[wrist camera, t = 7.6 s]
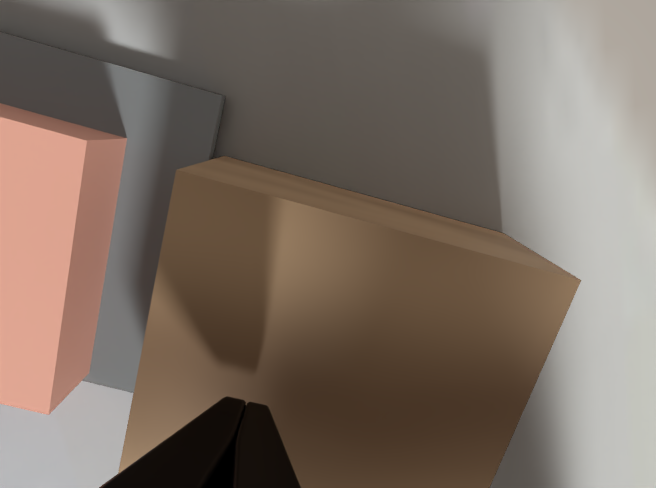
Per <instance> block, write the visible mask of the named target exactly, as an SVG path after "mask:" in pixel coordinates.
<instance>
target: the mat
mask: <svg viewBox="0 0 656 488" xmlns="http://www.w3.org/2000/svg"><path fill="white" fill-rule="evenodd" d="M224 101H225V96H223V95H219V94H216V93H212V92H209V91H206V90H202V89H199V88H195V87H192V86H188V85H185V84H181V83H178V82H174V81H171V80H167V79H164V78H160V77H157V76H153V75H150V74H146V73H143V72H139V71H136V70H132V69H129V68H125V67H122V66H118V65H115V64H111V63H108V62H104V61H101V60H97V59H94V58H90V57H87V56H83V55H80V54H76V53H73V52H69V51H66V50H62V49H59V48H55V47H52V46H48V45H45V44H41V43H38V42H35V41H31V40H28V39H24V38H21V37H17V36H14V35H10V34H7V33H3V32H0V103H1V104H5V105H9V106H12V107H16V108H19V109H23V110H27V111H30V112H34V113H37V114H41V115H45V116H48V117H52V118H55V119H59V120H63V121H66V122H70V123H74V124H77V125H81V126H84V127H88V128H92V129H95V130H99V131H102V132H106V133H110V134H113V135H117V136H121V137H124V138H127V142H126V148H125V154H124V161H123V167H122V173H121V179H120V185H119V192H118V198H117V204H116V210H115V216H114V223H113V229H112V235H111V241H110V247H109V254H108V260H107V266H106V272H105V278H104V285H103V291H102V297H101V303H100V309H99V316H98V322H97V328H96V334H95V340H94V347H93V353H92V359H91V365H90V371H89V374H88V375H87V376H86V377H85V378H84V379H83V380H82V381H86V382H90V383H94V384H98V385H103V386H107V387H111V388H115V389H119V390H124V391H128V392H132V393H134V389H135V383H136V378H137V373H138V368H139V362H140V357H141V352H142V347H143V341H144V336H145V331H146V326H147V320H148V315H149V310H150V305H151V299H152V294H153V289H154V284H155V278H156V273H157V268H158V263H159V257H160V252H161V247H162V242H163V236H164V231H165V226H166V221H167V215H168V210H169V205H170V200H171V194H172V189H173V184H174V179H175V173H176V170H177V169H180V168H184V167H187V166H191V165H194V164H198V163H201V162H205V161H208V160H212V158H213V154H214V149H215V144H216V139H217V135H218V130H219V125H220V120H221V115H222V111H223V106H224Z"/></svg>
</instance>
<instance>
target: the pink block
mask: <svg viewBox="0 0 656 488" xmlns="http://www.w3.org/2000/svg"><path fill="white" fill-rule="evenodd" d="M126 142H127V138H124V137H121V136H117V135H113V134H110V133H106V132H102V131H99V130H95V129H92V128H88V127H84V126H81V125H77V124H74V123H70V122H66V121H63V120H59V119H55V118H52V117H48V116H45V115H41V114H37V113H34V112H30V111H27V110H23V109H19V108H16V107H12V106H9V105H5V104H1V103H0V404H4V405H8V406H13V407H17V408H21V409H26V410H30V411H34V412H39V413H43V414H47V415H49V414H50V413H51V412H52V411H53V410H54V409H55V408H56V407H57V406H58V405H59V404H60V403H61V402H62V401H63V400H64V398H65V397H66V396H67V395H68V394H69V393H70V392H71V391H72V390H73V389H74V388H75V387H76V386H77V385H78V384H79V383H80V382H81V381H82V380H83V379H84V378H85V377H86V376H87V375H88V374H89V371H90V365H91V359H92V353H93V347H94V340H95V334H96V328H97V322H98V316H99V309H100V303H101V297H102V291H103V285H104V278H105V272H106V266H107V260H108V254H109V247H110V241H111V235H112V229H113V223H114V216H115V210H116V204H117V198H118V192H119V185H120V179H121V173H122V167H123V161H124V154H125V148H126Z"/></svg>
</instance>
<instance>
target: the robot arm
mask: <svg viewBox="0 0 656 488" xmlns="http://www.w3.org/2000/svg"><path fill="white" fill-rule="evenodd" d="M99 488H301V487H300V484H299V482H298V479H297V477H296V474H295V472H294V469H293V467H292V464H291V462H290V459H289V457H288V454H287V452H286V449H285V447H284V444H283V442H282V439H281V437H280V434H279V432H278V429H277V426H276V424H275V421H274V419H273V416H272V414H271V411H270V409H269V407H268V406H267V405H264V404H260V403H255V402H248V403H247V404H246V402H245V401H244V400H242V399H237V398H233V397H229V396H226V397H224V398H222V399H221V400H219V401H218V402H217V403H215V404H214V405H213V406H211V407H210V408H208V409H207V410H206V411H204V412H203V413H201V414H200V415H199V416H197V417H196V418H195V419H193V420H192V421H190V422H189V423H188V424H186V425H185V426H184V427H182V428H181V429H179V430H178V431H177V432H175V433H174V434H172V435H171V436H170V437H168V438H167V439H166V440H164V441H163V442H161V443H160V444H159V445H157V446H156V447H155V448H153V449H152V450H150V451H149V452H148V453H146V454H145V455H143V456H142V457H141V458H139V459H138V460H137V461H135V462H134V463H132V464H131V465H130V466H128V467H127V468H126V469H124V470H123V471H121V472H120V473H119V474H117V475H116V476H114V477H113V478H112V479H110V480H109V481H108V482H106V483H105V484H103V485H102V486H101V487H99Z"/></svg>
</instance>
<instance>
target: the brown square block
mask: <svg viewBox="0 0 656 488" xmlns="http://www.w3.org/2000/svg"><path fill="white" fill-rule="evenodd" d="M580 282H581V280H580V279H578V278H576V277H575V276H573V275H571V274H570V273H568V272H567V271H565V270H563V269H562V268H560V267H558V266H557V265H555V264H553V263H552V262H550V261H548V260H547V259H545V258H544V257H542V256H540V255H539V254H537V253H535V252H534V251H532V250H530V249H529V248H527V247H525V246H524V245H522V244H520V243H519V242H517V241H516V240H514V239H512V238H511V237H509V236H507V235H506V234H504V233H501V232H497V231H494V230H490V229H486V228H483V227H479V226H476V225H472V224H468V223H465V222H461V221H458V220H454V219H450V218H447V217H443V216H440V215H436V214H432V213H429V212H425V211H422V210H418V209H414V208H411V207H407V206H403V205H400V204H396V203H393V202H389V201H385V200H382V199H378V198H375V197H371V196H367V195H364V194H360V193H357V192H353V191H349V190H346V189H342V188H339V187H335V186H331V185H328V184H324V183H321V182H317V181H313V180H310V179H306V178H303V177H299V176H295V175H292V174H288V173H284V172H281V171H277V170H274V169H270V168H266V167H263V166H259V165H256V164H252V163H248V162H245V161H241V160H238V159H234V158H230V157H227V156H222V157H219V158H215V159H212V160H208V161H205V162H201V163H198V164H194V165H191V166H187V167H184V168H180V169H177V170H176V173H175V179H174V184H173V189H172V194H171V200H170V205H169V210H168V215H167V221H166V226H165V231H164V236H163V242H162V247H161V252H160V257H159V263H158V268H157V273H156V278H155V284H154V289H153V294H152V299H151V305H150V310H149V315H148V320H147V326H146V331H145V336H144V341H143V347H142V352H141V357H140V362H139V368H138V373H137V378H136V383H135V389H134V394H133V399H132V404H131V410H130V415H129V420H128V425H127V431H126V436H125V441H124V446H123V452H122V457H121V462H120V467H119V473H120V472H121V471H123V470H124V469H126V468H127V467H128V466H130V465H131V464H132V463H134V462H135V461H137V460H138V459H139V458H141V457H142V456H143V455H145V454H146V453H148V452H149V451H150V450H152V449H153V448H155V447H156V446H157V445H159V444H160V443H161V442H163V441H164V440H166V439H167V438H168V437H170V436H171V435H172V434H174V433H175V432H177V431H178V430H179V429H181V428H182V427H184V426H185V425H186V424H188V423H189V422H190V421H192V420H193V419H195V418H196V417H197V416H199V415H200V414H201V413H203V412H204V411H206V410H207V409H208V408H210V407H211V406H213V405H214V404H215V403H217V402H218V401H219V400H221V399H222V398H224V397H226V396H229V397H233V398H237V399H242V400H244V401H245V402H246V404H247V403H248V402H255V403H260V404H264V405H267V406H268V407H269V409H270V411H271V414H272V416H273V419H274V421H275V424H276V426H277V429H278V432H279V434H280V437H281V439H282V442H283V444H284V447H285V449H286V452H287V454H288V457H289V459H290V462H291V464H292V467H293V469H294V472H295V474H296V477H297V479H298V482H299V484H300V487H301V488H490V485H491V483H492V481H493V478H494V476H495V474H496V472H497V469H498V467H499V465H500V463H501V460H502V458H503V456H504V454H505V451H506V449H507V447H508V445H509V442H510V440H511V438H512V436H513V433H514V431H515V429H516V426H517V424H518V422H519V420H520V417H521V415H522V413H523V411H524V408H525V406H526V404H527V402H528V399H529V397H530V395H531V393H532V390H533V388H534V386H535V383H536V381H537V379H538V377H539V374H540V372H541V370H542V368H543V365H544V363H545V361H546V359H547V356H548V354H549V352H550V350H551V347H552V345H553V343H554V340H555V338H556V336H557V334H558V331H559V329H560V327H561V325H562V322H563V320H564V318H565V316H566V313H567V311H568V309H569V307H570V304H571V302H572V300H573V297H574V295H575V293H576V291H577V288H578V286H579V284H580ZM119 473H118V474H119Z"/></svg>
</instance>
